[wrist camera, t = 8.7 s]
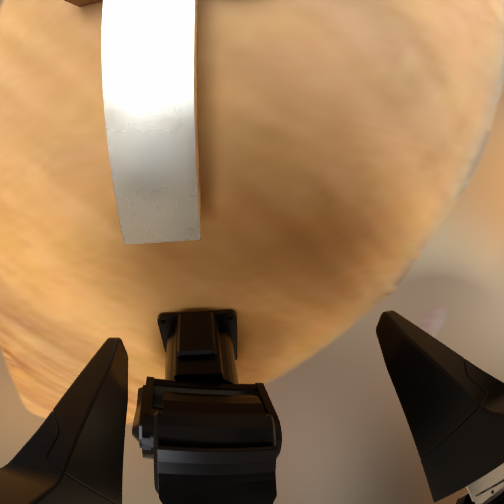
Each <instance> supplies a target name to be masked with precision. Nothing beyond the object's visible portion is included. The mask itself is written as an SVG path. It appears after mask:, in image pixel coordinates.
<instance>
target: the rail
mask: <svg viewBox="0 0 504 504" xmlns="http://www.w3.org/2000/svg"><path fill="white" fill-rule="evenodd" d="M197 12H198V0H103V9H102V79H103V98H104V111H105V123H106V133H107V142H108V151H109V159H110V166H111V173H112V180H113V186H114V192H115V198H116V204H117V210H118V215H119V220H120V225H121V230H122V235H123V240H124V245H131V244H145V243H160V242H176V241H191V240H201V198H200V178H199V154H198V123H197Z"/></svg>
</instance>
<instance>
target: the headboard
mask: <svg viewBox="0 0 504 504" xmlns="http://www.w3.org/2000/svg"><path fill="white" fill-rule="evenodd" d="M65 1H67V2H69V3H72V4H74V5H76V6H79V7H80V6H83V5H87V4H91V3H95V2H99V1H103V0H65Z"/></svg>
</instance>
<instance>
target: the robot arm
mask: <svg viewBox="0 0 504 504" xmlns="http://www.w3.org/2000/svg"><path fill="white" fill-rule="evenodd" d="M229 316H231V317H229ZM162 319H164V320H162ZM158 326H159V329H160V333H161V337H162V341H163V344H164V348H165V352H166V371H165V380H164V379H155V378H154V377H147V380H146V385H143V387H142V388H139V389H138V399H137V408H136V413H135V417H134V422H133V427H132V435H133V436H134V437H135V438H136V439H137V441H138V442H139V443H140V448H142V453H143V458H148V459H154V480H155V489H156V491H157V493H158V494H159V499H160V500H161V502H162V503H163V504H273V502H274V500H275V498H276V495H277V492H276V478H275V477H276V475H275V469H276V458H277V457H278V455H279V453H280V450H281V444H282V432H281V426H280V421H279V419H278V416H277V414H276V412H275V409H274V407H273V405H272V403H271V401H270V398H269V396H268V393H267V391H266V389H265V387H264V384H263V383H255V384H238V377H237V370H236V363H235V360H237V317H236V312H235V311H233V310H224V311H208V312H191V313H170V314H160V315H159V316H158ZM376 334H377V337H378V340H379V344H380V347H381V350H382V354H383V357H384V361H385V364H386V367H387V370H388V373H389V375H390V377H391V380H392V382H393V385H394V387H395V390H396V393H397V395H398V398H399V400H400V403H401V406H402V408H403V411H404V414H405V416H406V419H407V422H408V424H409V427H410V430H411V433H412V435H413V438H414V441H415V444H416V447H417V450H418V453H419V456H420V458H421V463H422V466H423V469H424V472H425V475H426V478H427V482H428V484H429V488H430V491H431V494H432V498H433V501H434V502H437V501H439V500H441V499H444V498H445V497H447V496H449V495H451V494H453V493H455V492H457V491H459V490H461V489H462V488H464V487H467V490H468V493H467V494H465V495H464V496H462V497H460V498H459V499H458V500H457V503H456V504H504V383H503V382H501V381H500V380H498V379H496V378H494V377H493V376H491V375H489V374H488V373H486V372H484V371H483V370H481V369H479V368H478V367H476V366H475V365H473V364H472V363H470V362H469V361H467V360H466V359H464V358H463V357H462V356H460V355H458V354H457V353H456V352H454V351H453V350H451V349H450V348H448V347H447V346H445V345H444V344H443V343H441V342H439V341H438V340H437V339H435V338H434V337H432V336H431V335H429V334H428V333H426V332H425V331H423V330H422V329H420V328H419V327H417V326H416V325H414V324H413V323H411V322H410V321H408V320H407V319H405V318H403V317H402V316H401V315H399V314H398V313H396V312H395V311H386V312H383V313H382V315H381V317H380V319H379V322H378V325H377V327H376ZM127 404H128V355H127V352H126V349H125V347H124V345H123V342H122V340H121V339H120V338H108V339H107V340H106V341H105V343H104V344H103V345H102V346H101V348H100V349H99V350H98V351H97V353H96V354H95V355H94V356H93V358H92V359H91V360H90V362H89V363H88V364H87V365H86V367H85V368H84V369H83V371H82V372H81V373H80V374H79V376H78V377H77V378H76V380H75V381H74V382H73V384H72V385H71V386H70V388H69V389H68V390H67V392H66V393H65V394H64V396H63V397H62V398H61V400H60V401H59V402H58V404H57V405H56V406H55V408H54V409H53V411H52V412H51V413H50V414H49V416H48V417H47V419H46V420H45V421H44V423H43V424H42V425H41V426H40V428H39V429H38V430H37V431H36V433H35V434H34V435H33V436H32V437H31V439H30V440H29V441H28V442H27V443H26V444H25V446H23V448H22V449H21V450H20V451H19V452H18V453H17V454H16V456H15V457H14V458H13V459H12V460H11V461H10V462H9V463H8V464H7V465H5V466H4V467H2V468H0V504H122V474H123V453H124V437H125V425H126V414H127Z"/></svg>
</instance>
